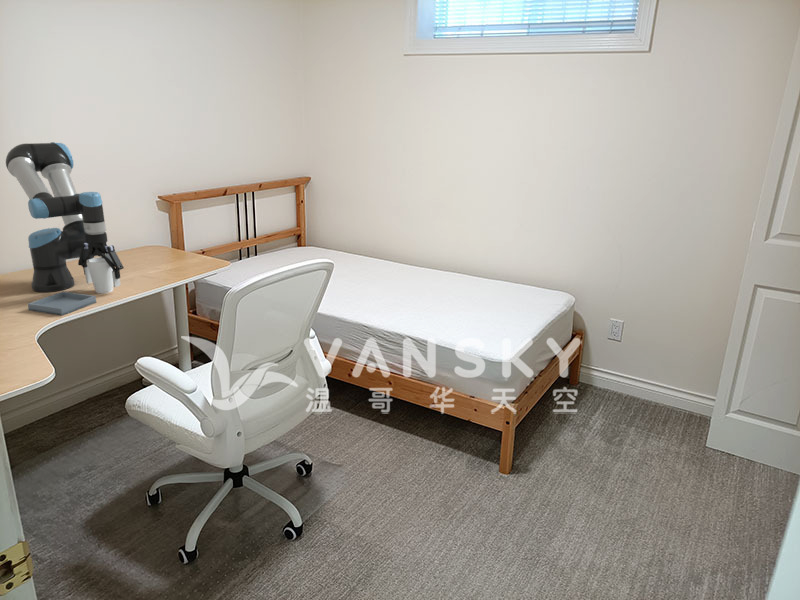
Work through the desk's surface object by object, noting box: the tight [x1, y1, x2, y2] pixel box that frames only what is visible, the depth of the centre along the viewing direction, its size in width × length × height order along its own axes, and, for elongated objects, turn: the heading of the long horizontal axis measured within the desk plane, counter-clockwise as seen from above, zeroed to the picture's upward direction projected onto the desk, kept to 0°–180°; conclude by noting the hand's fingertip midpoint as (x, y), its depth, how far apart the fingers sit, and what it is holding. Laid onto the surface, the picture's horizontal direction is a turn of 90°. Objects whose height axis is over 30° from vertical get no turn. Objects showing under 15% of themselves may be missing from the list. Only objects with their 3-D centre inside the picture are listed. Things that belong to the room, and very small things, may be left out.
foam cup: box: [86, 256, 114, 294], centre depth 233 cm, size 10×9×13 cm
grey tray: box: [27, 290, 97, 317], centre depth 217 cm, size 16×16×3 cm
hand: (103, 284), depth 234 cm, fingers open, 13 cm apart
